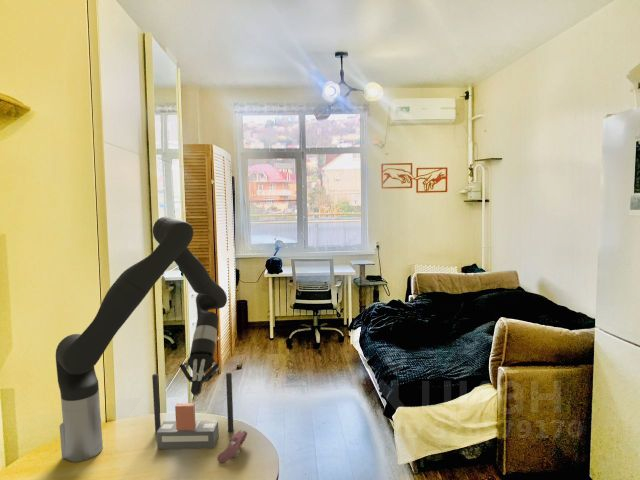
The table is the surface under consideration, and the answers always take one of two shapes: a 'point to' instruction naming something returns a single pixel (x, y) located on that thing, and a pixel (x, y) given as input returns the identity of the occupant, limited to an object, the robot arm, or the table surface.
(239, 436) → the video game controller
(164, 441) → the breaker block
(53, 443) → the table surface
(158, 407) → the cord posts
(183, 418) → the block
